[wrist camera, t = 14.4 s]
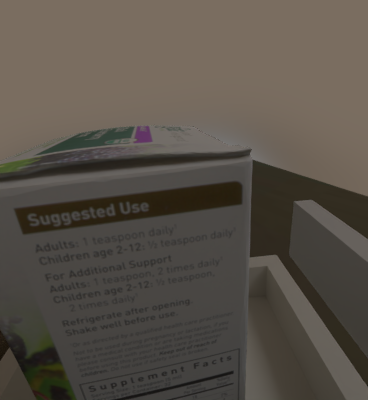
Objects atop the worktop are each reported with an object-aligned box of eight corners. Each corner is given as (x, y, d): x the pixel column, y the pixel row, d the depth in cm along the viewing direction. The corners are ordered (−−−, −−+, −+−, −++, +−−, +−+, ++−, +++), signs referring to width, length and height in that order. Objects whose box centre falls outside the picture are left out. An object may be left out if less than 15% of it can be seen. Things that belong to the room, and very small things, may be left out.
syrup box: (118, 381, 14) (41, 135, 9) (213, 359, 15) (197, 118, 9) (104, 539, 9) (-108, 180, 4) (250, 496, 10) (264, 136, 4)
